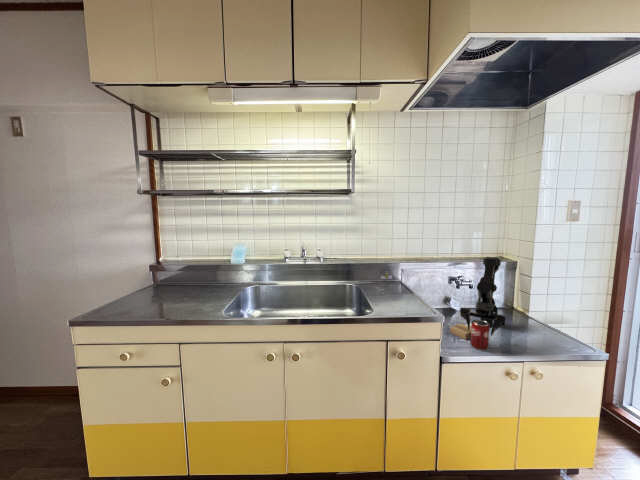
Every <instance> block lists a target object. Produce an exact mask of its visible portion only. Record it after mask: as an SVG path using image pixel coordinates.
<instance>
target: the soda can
mask: <svg viewBox="0 0 640 480" xmlns="http://www.w3.org/2000/svg"><path fill="white" fill-rule="evenodd" d="M471 324H472V325H471V338H470V346H471V347H472V348H473V349H475V350H478V351H487V350H488V349H489V341H490V328H491V327H490V325H489V323H487V322H485V321H482V320H480V319H474V320H472V321H471Z"/></svg>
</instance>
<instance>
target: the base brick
mask: <svg viewBox="0 0 640 480" xmlns="http://www.w3.org/2000/svg"><path fill="white" fill-rule="evenodd" d="M466 325H467V324H463V323H459V324H456V325H455V324H454V325H453V326H450V327H449V333H451V334H453V335H455V336H457V337H459V338H461V339H463V340H466V341H467V340H469V339H471V327H470V330H468V326H466Z"/></svg>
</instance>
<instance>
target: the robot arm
mask: <svg viewBox="0 0 640 480" xmlns="http://www.w3.org/2000/svg"><path fill="white" fill-rule="evenodd" d="M482 265H484V274H483V276H481V278H480V279H479V282H478V283H477V284H476V290H477V297H478V298H477V301H476V302H475V303H476V305H475V310H474V311H475V312H474V311H471V308H467V307H461V308H460V310H459V313H460V314H459V315H460V317H461V318H463V319H464V320H465V321H466V325H467V326H468V330H470V324H471V317H476V318H480V319H479V320H482V321H485V322H487V323H489V325H490V328H491V331H490V336H493V335H494V334H495V332H496V331H497V330H498V328H499V327H505V326H506V323H507V321H506V320H507V317H506V316H505V315H503V314H499V312H498V311H499V308H498V307H497V305H496V302H495V299H494V292H497V290H498V287H497V285H496V284H495V279H496V273H497V272H498V271H499V269H500V267H501V265H502V260H501V259H500V258H499V257H493V256H492V257H491V256H486V257H485V258H483V261H482Z"/></svg>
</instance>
